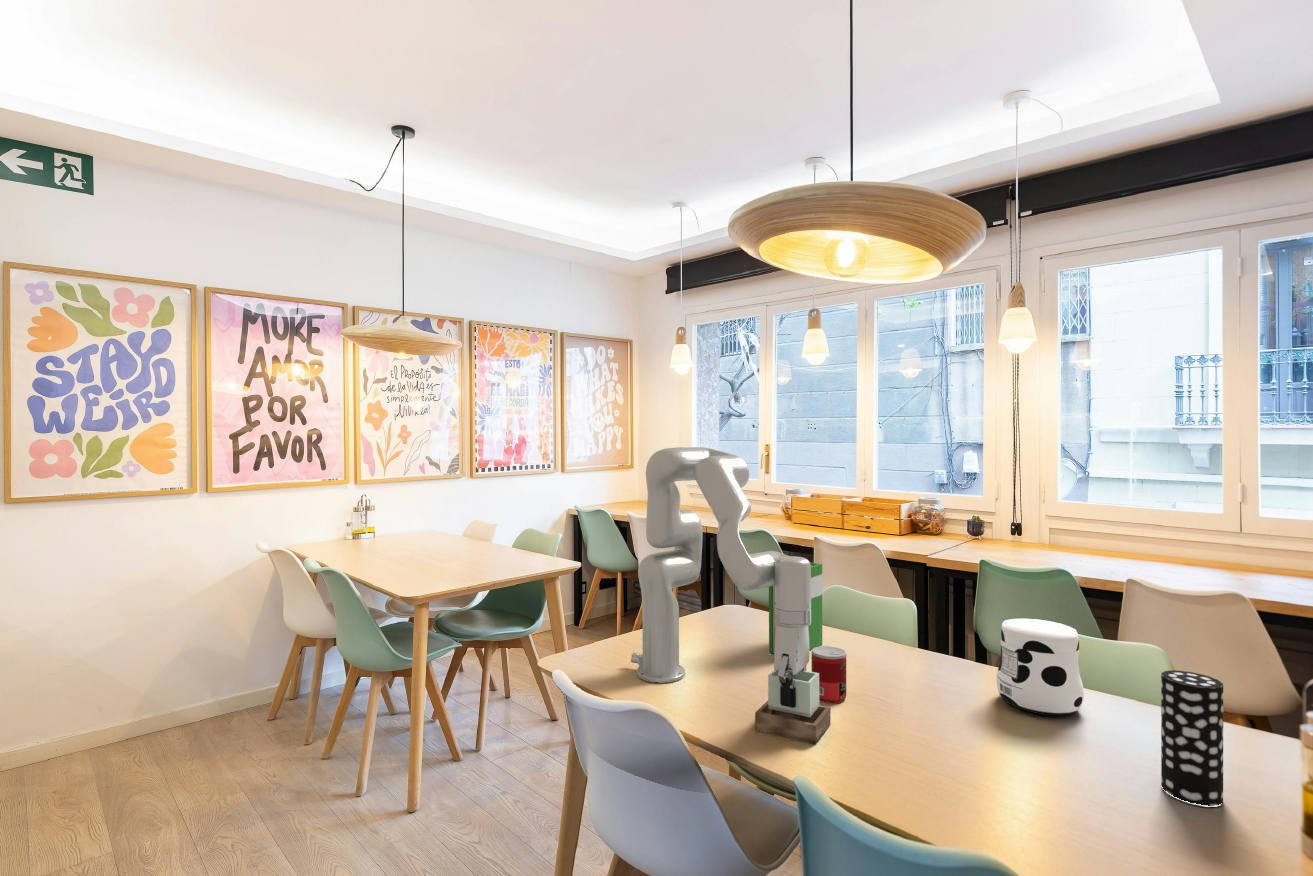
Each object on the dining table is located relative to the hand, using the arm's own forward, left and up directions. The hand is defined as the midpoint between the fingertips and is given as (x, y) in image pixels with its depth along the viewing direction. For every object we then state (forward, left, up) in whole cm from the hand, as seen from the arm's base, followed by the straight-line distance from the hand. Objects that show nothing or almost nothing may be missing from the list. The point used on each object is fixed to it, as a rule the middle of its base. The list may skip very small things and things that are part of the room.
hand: (793, 699), depth 141 cm
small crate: (0, 0, -2) cm, 2 cm away
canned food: (+2, +20, -6) cm, 21 cm away
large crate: (0, 0, -6) cm, 6 cm away
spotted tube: (+68, +9, -6) cm, 69 cm away
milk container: (+45, +39, -6) cm, 60 cm away
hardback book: (-16, +50, -6) cm, 53 cm away
